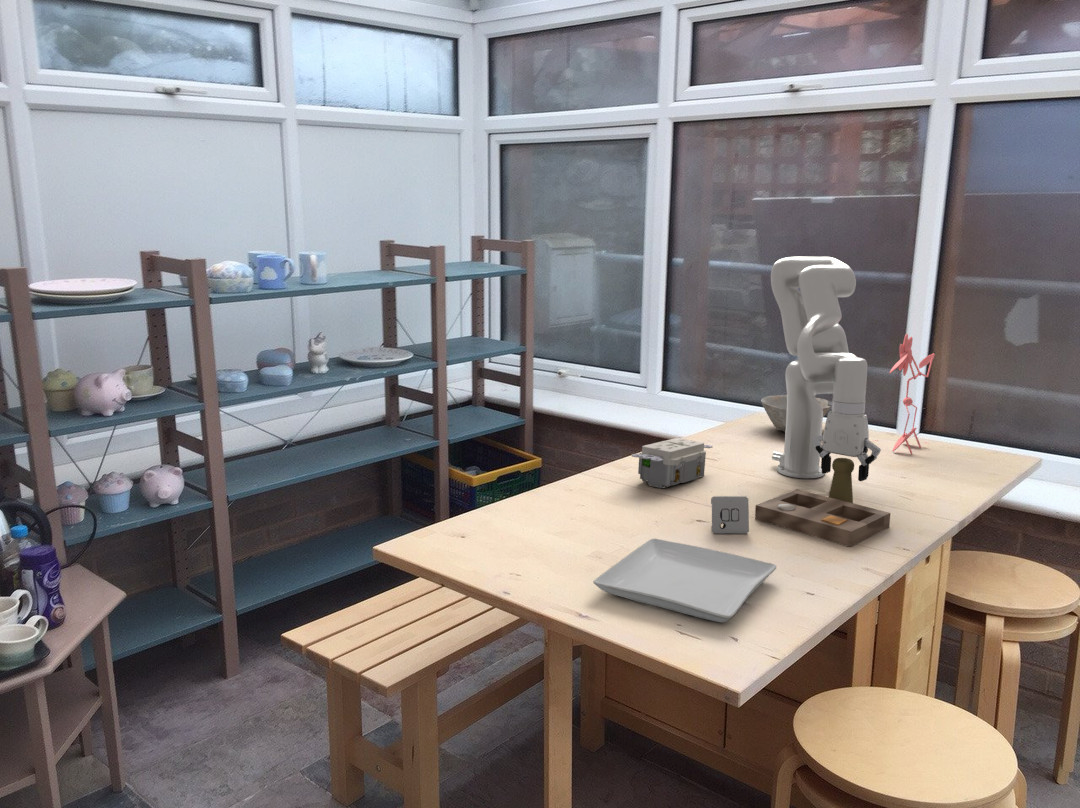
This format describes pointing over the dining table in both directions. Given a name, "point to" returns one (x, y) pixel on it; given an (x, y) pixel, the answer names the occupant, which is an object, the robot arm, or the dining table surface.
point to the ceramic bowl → (784, 409)
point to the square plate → (686, 579)
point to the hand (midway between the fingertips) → (843, 476)
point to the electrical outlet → (671, 462)
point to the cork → (842, 480)
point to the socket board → (823, 517)
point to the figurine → (903, 364)
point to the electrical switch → (730, 514)
